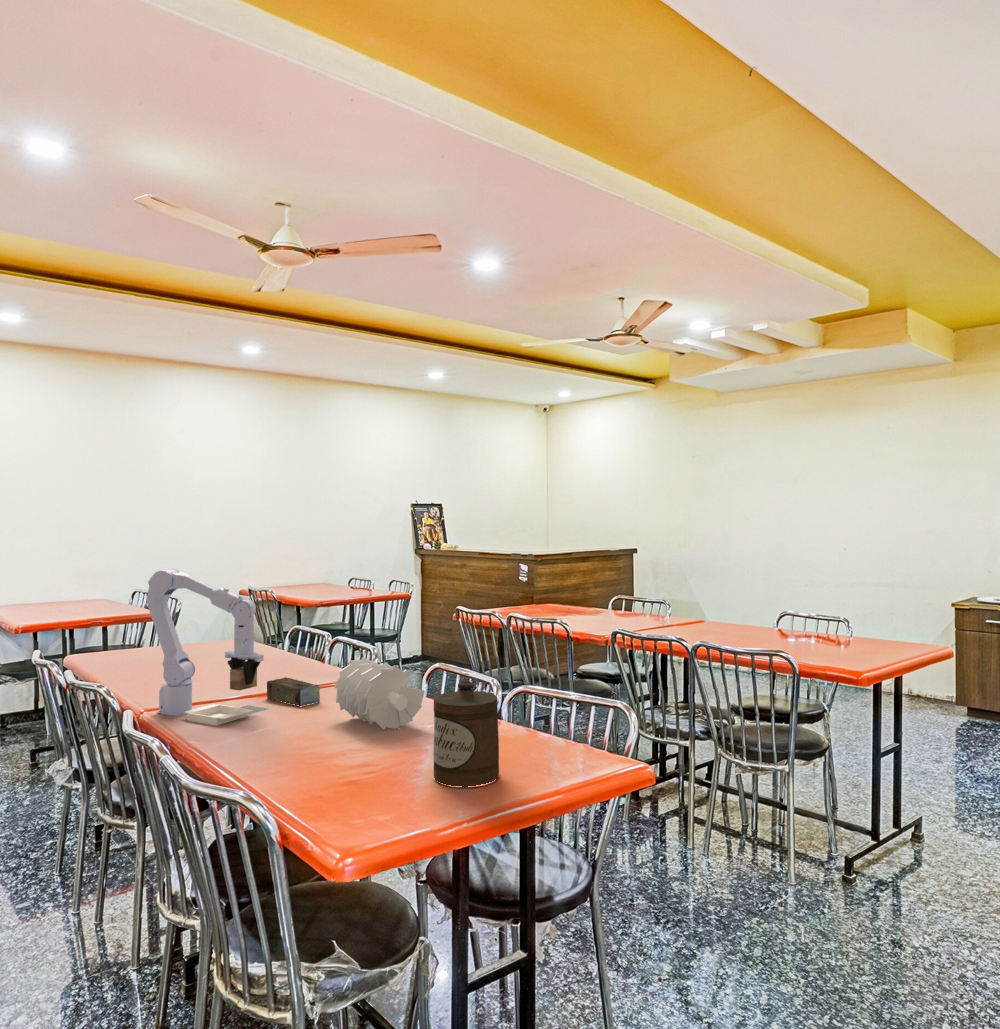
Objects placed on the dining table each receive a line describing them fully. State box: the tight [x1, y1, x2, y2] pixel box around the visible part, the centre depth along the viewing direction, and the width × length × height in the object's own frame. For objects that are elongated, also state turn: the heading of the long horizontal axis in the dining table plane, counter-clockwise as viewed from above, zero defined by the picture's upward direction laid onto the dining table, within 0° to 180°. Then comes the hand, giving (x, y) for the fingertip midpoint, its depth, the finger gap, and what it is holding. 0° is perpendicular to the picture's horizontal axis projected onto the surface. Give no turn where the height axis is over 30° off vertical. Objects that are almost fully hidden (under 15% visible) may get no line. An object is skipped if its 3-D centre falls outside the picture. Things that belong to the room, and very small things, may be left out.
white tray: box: [183, 703, 253, 726], centre depth 220 cm, size 17×12×2 cm
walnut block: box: [229, 667, 258, 692], centre depth 228 cm, size 7×4×6 cm, turn 152°
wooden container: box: [432, 679, 500, 787], centre depth 169 cm, size 15×15×22 cm
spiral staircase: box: [333, 656, 426, 731], centre depth 216 cm, size 18×18×25 cm
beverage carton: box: [266, 676, 321, 707], centre depth 244 cm, size 8×19×7 cm, turn 50°
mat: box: [239, 705, 269, 715], centre depth 230 cm, size 9×9×1 cm
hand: (243, 683), depth 229 cm, fingers closed on walnut block, 4 cm apart
